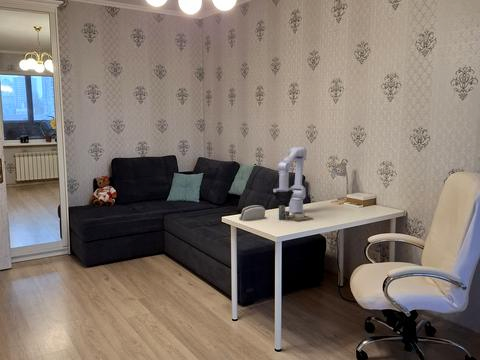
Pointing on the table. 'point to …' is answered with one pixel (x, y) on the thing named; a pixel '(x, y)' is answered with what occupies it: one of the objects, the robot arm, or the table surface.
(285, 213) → the elbow
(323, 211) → the table surface
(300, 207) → the robot arm
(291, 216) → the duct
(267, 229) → the table surface
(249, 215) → the grey napkin holder
